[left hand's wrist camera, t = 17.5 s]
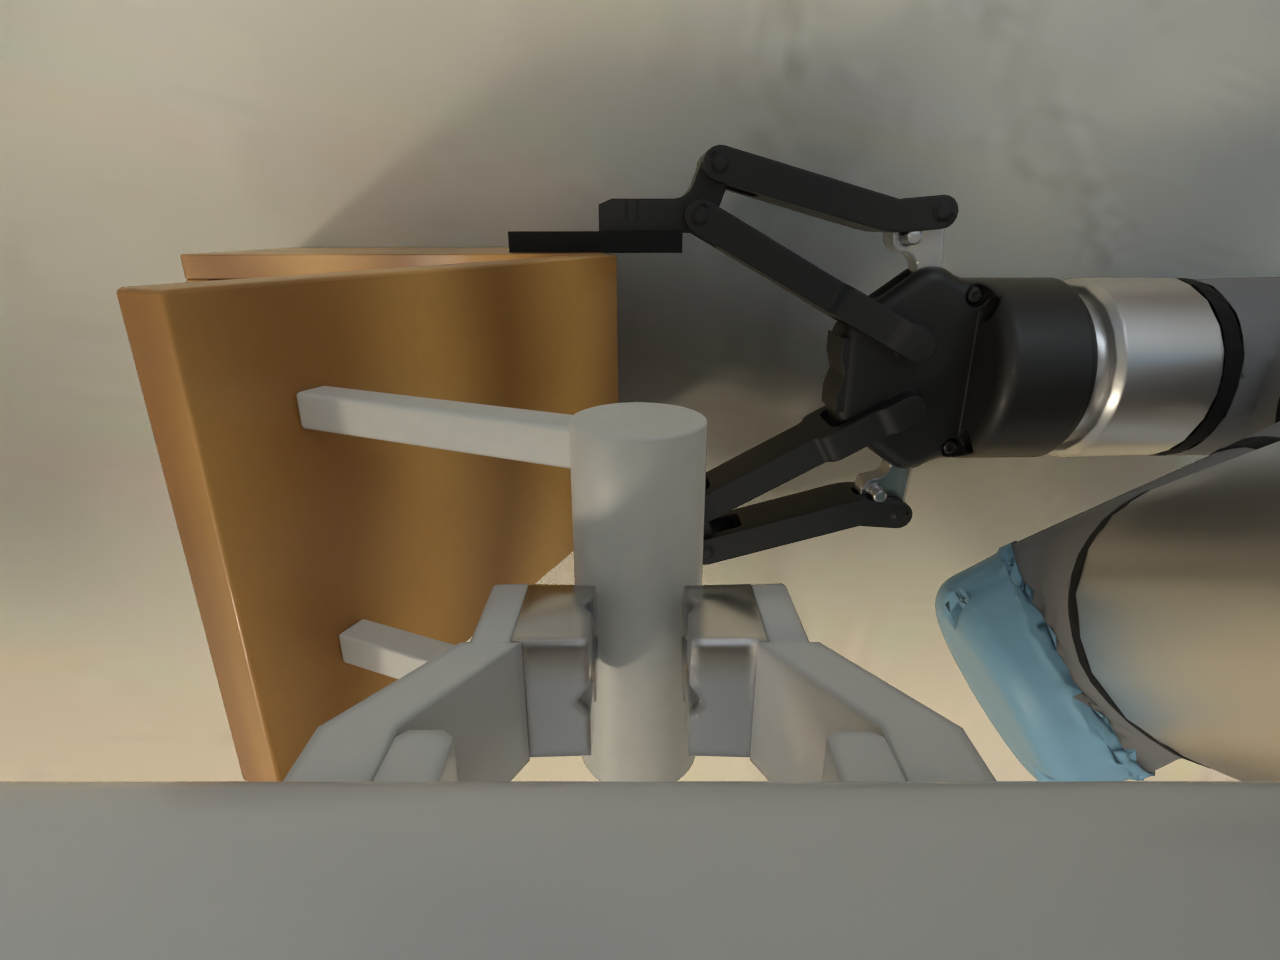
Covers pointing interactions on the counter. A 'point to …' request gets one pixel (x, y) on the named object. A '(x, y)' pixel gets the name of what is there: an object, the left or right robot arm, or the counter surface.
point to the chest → (338, 260)
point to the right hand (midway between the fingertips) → (522, 373)
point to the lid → (418, 486)
